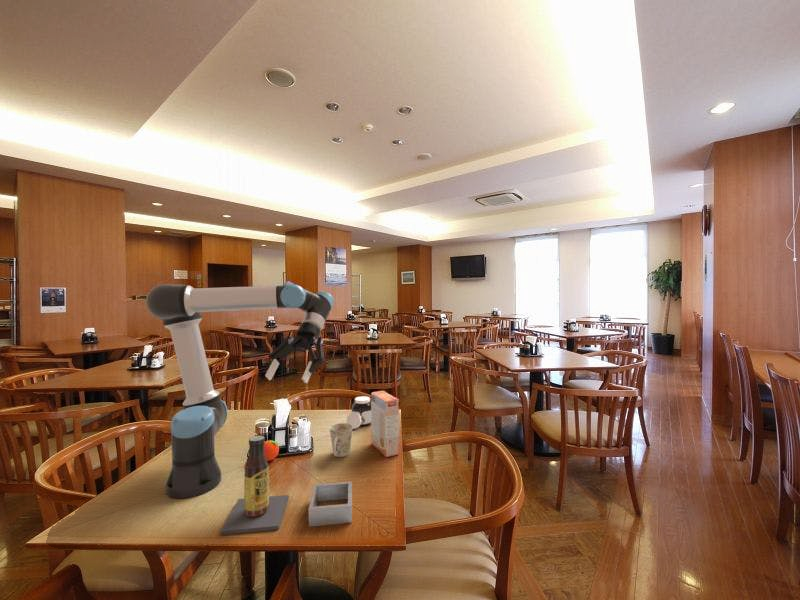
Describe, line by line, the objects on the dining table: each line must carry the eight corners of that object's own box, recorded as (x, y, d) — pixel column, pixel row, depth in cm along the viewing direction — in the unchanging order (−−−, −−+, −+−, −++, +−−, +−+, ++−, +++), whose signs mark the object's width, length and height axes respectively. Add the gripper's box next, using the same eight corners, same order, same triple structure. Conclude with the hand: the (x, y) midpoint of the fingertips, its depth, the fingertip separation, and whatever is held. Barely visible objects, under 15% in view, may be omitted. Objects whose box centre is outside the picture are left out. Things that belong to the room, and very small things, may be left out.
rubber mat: (220, 535, 89) (220, 531, 89) (238, 502, 103) (238, 499, 103) (278, 529, 91) (278, 525, 90) (288, 498, 104) (288, 494, 104)
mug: (355, 449, 137) (354, 423, 137) (346, 464, 124) (346, 436, 124) (333, 448, 138) (333, 422, 137) (323, 464, 125) (323, 435, 125)
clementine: (285, 455, 132) (284, 436, 132) (277, 464, 125) (277, 444, 125) (264, 455, 132) (263, 436, 132) (255, 464, 126) (254, 444, 125)
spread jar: (373, 420, 168) (373, 395, 168) (373, 429, 157) (373, 403, 156) (348, 421, 167) (347, 396, 167) (346, 430, 156) (345, 404, 156)
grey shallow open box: (308, 526, 91) (308, 509, 91) (314, 499, 103) (313, 484, 103) (351, 522, 93) (351, 505, 93) (352, 496, 105) (351, 481, 105)
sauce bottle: (257, 520, 92) (256, 444, 92) (239, 516, 95) (237, 441, 94) (274, 506, 99) (273, 435, 98) (256, 502, 101) (255, 432, 101)
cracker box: (400, 454, 131) (399, 398, 131) (385, 458, 129) (384, 401, 128) (384, 441, 144) (384, 389, 144) (371, 444, 141) (370, 391, 141)
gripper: (345, 335, 126) (324, 388, 112) (285, 333, 133) (259, 382, 119) (338, 321, 121) (315, 375, 107) (276, 320, 128) (247, 370, 114)
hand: (285, 379), depth 113 cm, fingers open, 13 cm apart
